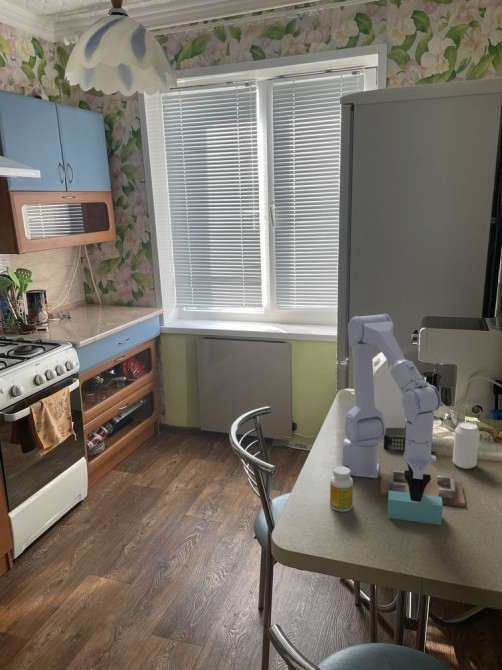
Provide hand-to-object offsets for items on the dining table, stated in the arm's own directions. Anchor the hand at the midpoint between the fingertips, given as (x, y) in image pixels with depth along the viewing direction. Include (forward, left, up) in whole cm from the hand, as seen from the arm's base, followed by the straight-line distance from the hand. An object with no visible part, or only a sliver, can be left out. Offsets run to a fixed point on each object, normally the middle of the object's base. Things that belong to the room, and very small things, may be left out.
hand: (415, 491), depth 121 cm
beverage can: (+14, +29, -7) cm, 33 cm away
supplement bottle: (-17, 0, -7) cm, 18 cm away
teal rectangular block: (0, 0, -7) cm, 7 cm away
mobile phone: (-1, +35, -7) cm, 35 cm away
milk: (-9, +55, -7) cm, 56 cm away
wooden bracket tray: (+2, +12, -7) cm, 14 cm away
